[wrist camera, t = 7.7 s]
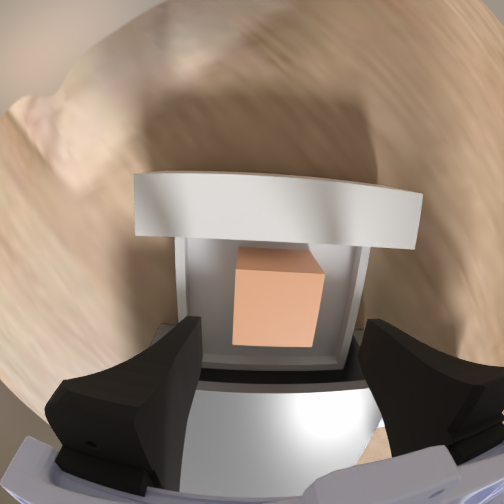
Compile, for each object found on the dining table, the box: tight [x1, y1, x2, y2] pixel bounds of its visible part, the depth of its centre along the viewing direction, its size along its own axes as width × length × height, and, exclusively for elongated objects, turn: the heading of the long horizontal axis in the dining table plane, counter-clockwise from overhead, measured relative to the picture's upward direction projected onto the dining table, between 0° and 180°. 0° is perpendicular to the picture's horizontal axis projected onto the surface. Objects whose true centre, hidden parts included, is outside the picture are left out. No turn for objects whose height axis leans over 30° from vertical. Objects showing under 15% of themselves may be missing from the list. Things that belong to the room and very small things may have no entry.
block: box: [232, 247, 325, 347], centre depth 17 cm, size 4×4×4 cm
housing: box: [149, 324, 382, 498], centre depth 20 cm, size 16×16×7 cm
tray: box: [134, 171, 423, 371], centre depth 17 cm, size 14×14×5 cm
